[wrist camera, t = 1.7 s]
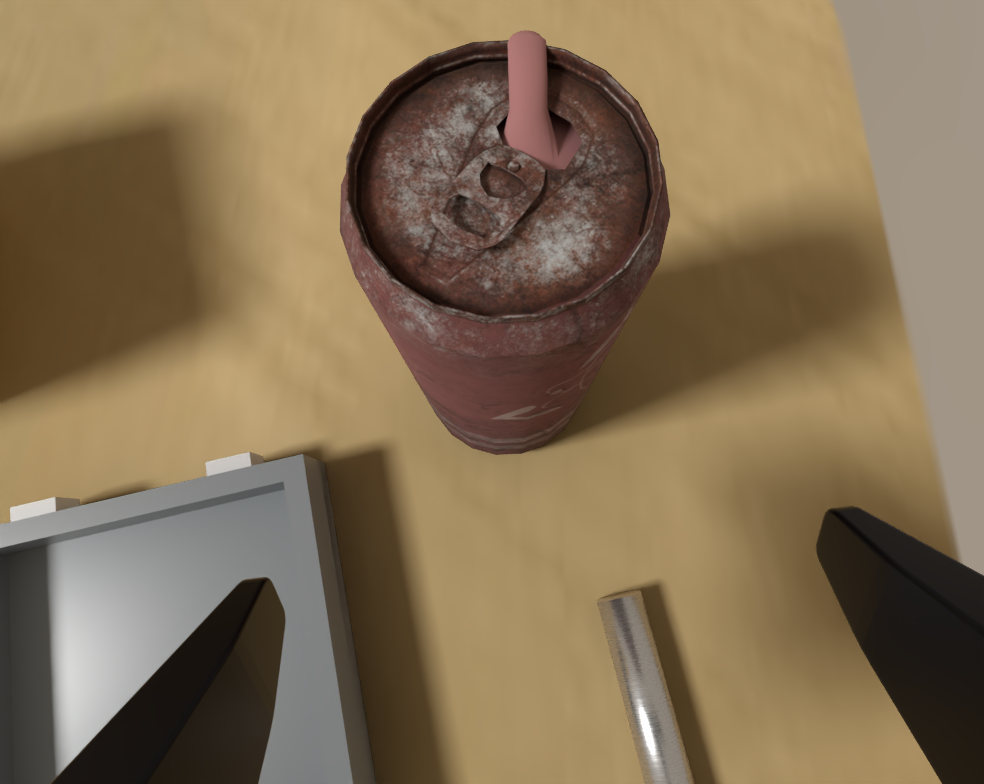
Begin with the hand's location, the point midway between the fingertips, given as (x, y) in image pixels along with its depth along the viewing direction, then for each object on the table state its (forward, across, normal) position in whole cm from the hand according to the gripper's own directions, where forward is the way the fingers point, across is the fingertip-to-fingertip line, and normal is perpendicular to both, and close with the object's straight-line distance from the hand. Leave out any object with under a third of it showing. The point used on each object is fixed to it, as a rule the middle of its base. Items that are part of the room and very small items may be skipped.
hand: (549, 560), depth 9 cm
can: (+14, 0, +5) cm, 15 cm away
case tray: (+7, +13, +11) cm, 18 cm away
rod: (+4, -3, +14) cm, 14 cm away
